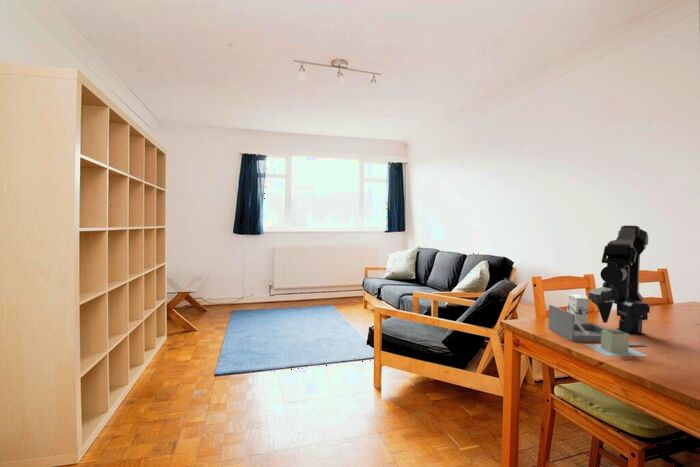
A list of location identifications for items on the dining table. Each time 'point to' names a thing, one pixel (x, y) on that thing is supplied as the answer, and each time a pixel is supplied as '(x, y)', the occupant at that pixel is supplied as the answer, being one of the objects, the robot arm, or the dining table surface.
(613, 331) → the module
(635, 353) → the blue-grey flat plate
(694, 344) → the dining table surface
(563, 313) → the equipment case
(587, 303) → the ink box
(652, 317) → the dining table surface
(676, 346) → the dining table surface
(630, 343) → the rod
